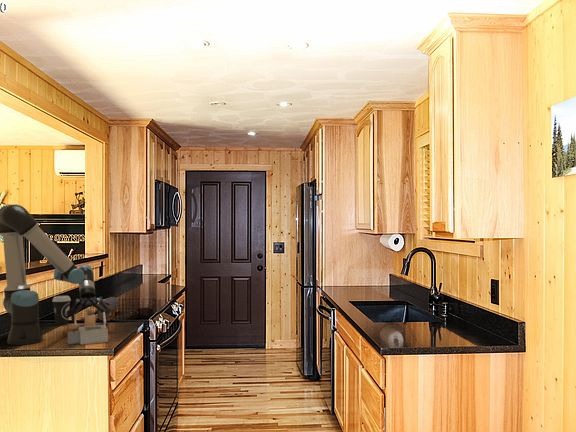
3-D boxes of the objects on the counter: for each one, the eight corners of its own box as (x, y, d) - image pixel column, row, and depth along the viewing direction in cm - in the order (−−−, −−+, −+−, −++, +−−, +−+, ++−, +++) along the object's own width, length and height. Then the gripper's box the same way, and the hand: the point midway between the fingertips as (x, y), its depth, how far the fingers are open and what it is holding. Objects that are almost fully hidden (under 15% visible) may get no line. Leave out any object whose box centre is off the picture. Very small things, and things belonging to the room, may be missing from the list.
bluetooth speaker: (113, 318, 320) (113, 301, 320) (96, 319, 319) (96, 301, 319) (120, 311, 343) (120, 295, 343) (104, 312, 342) (104, 296, 342)
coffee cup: (66, 321, 312) (66, 295, 312) (74, 324, 305) (73, 296, 305) (49, 324, 305) (49, 296, 305) (56, 326, 298) (56, 298, 298)
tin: (96, 318, 320) (96, 304, 320) (101, 318, 322) (101, 303, 322) (111, 321, 310) (110, 306, 310) (116, 321, 312) (115, 305, 312)
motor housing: (107, 342, 259) (107, 329, 259) (68, 345, 252) (68, 332, 252) (104, 337, 270) (104, 324, 270) (67, 340, 263) (67, 328, 263)
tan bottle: (89, 336, 271) (89, 311, 271) (82, 335, 274) (82, 310, 274) (97, 334, 275) (97, 309, 275) (90, 333, 278) (90, 309, 278)
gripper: (111, 294, 294) (116, 327, 280) (60, 297, 283) (62, 332, 270) (113, 285, 289) (117, 318, 275) (61, 288, 278) (63, 323, 265)
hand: (90, 325), depth 272 cm, fingers open, 13 cm apart
